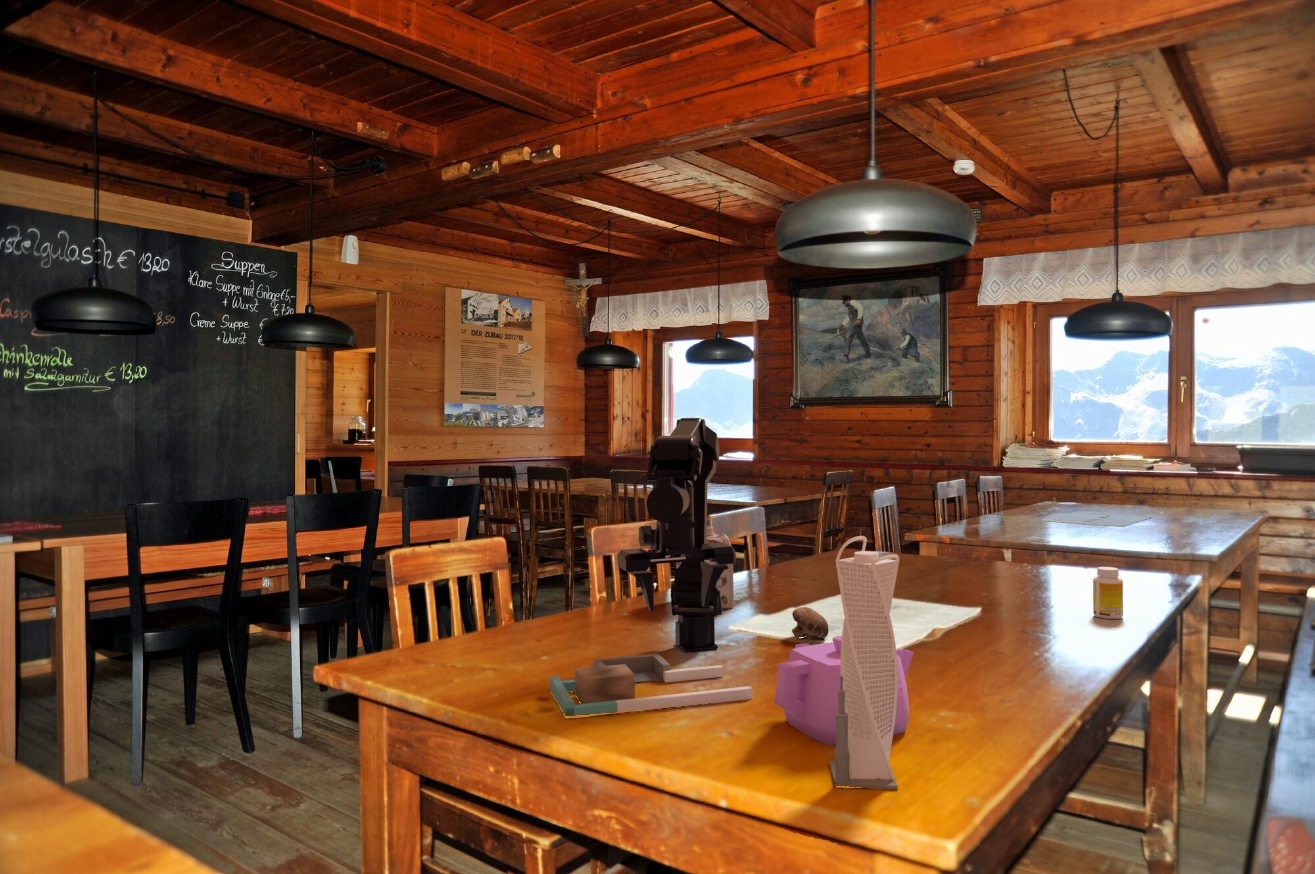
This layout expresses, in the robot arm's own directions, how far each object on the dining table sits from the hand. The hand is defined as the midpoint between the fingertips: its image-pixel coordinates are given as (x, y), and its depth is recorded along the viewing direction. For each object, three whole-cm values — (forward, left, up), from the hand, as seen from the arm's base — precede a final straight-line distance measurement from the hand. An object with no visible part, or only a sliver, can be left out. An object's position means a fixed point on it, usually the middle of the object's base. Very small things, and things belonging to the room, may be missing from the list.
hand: (677, 609), depth 143 cm
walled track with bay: (+7, +3, -12) cm, 14 cm away
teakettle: (-15, +27, -12) cm, 34 cm away
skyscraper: (-9, +43, -12) cm, 46 cm away
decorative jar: (-23, -54, -12) cm, 60 cm away
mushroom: (-32, -18, -12) cm, 39 cm away
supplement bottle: (-98, -13, -12) cm, 100 cm away
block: (+14, +6, -12) cm, 19 cm away
